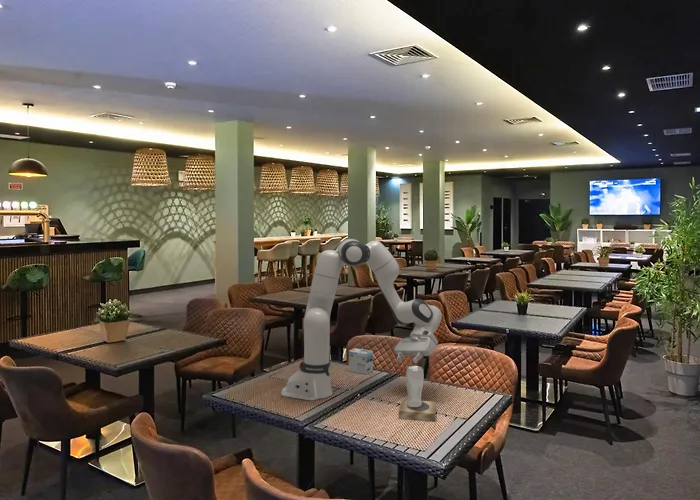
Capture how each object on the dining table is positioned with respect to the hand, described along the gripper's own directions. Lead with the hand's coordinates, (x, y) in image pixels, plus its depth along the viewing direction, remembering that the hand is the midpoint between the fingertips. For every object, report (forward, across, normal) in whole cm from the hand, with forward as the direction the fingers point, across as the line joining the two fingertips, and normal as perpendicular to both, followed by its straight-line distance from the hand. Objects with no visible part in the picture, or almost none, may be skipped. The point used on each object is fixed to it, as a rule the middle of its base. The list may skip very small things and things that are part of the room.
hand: (406, 361), depth 219 cm
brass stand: (+18, +11, +10) cm, 23 cm away
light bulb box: (-3, -44, +13) cm, 46 cm away
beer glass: (+16, +10, +7) cm, 20 cm away
